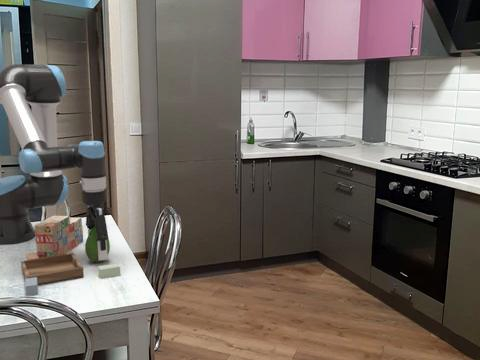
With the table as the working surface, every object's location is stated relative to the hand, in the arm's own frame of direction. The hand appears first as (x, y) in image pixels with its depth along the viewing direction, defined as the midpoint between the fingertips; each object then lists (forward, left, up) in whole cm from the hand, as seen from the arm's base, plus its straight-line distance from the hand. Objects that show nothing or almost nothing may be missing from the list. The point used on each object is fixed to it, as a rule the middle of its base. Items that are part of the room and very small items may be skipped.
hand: (98, 253), depth 161 cm
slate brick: (+15, -22, -3) cm, 27 cm away
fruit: (0, 0, -3) cm, 3 cm away
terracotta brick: (-8, -19, -3) cm, 21 cm away
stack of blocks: (-18, -9, -3) cm, 20 cm away
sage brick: (+14, 0, -3) cm, 14 cm away
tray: (+4, -15, -3) cm, 16 cm away
